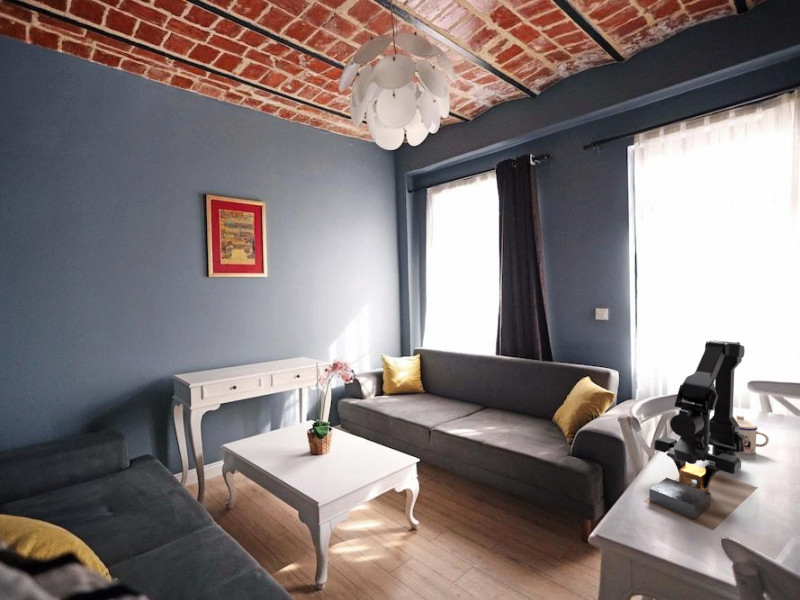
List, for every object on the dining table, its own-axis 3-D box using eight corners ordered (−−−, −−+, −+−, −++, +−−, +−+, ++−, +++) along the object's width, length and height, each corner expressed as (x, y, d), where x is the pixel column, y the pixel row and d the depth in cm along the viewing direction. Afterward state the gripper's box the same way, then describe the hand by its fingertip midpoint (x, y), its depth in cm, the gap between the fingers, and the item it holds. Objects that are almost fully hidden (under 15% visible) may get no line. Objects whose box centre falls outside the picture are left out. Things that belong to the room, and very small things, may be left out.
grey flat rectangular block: (684, 477, 119) (685, 465, 118) (727, 492, 110) (727, 479, 110) (649, 501, 106) (649, 488, 106) (694, 520, 98) (695, 506, 98)
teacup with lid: (720, 449, 141) (721, 415, 140) (724, 441, 147) (725, 409, 147) (766, 460, 132) (768, 424, 132) (769, 451, 139) (770, 417, 138)
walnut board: (694, 470, 125) (694, 466, 125) (757, 491, 113) (757, 487, 113) (643, 505, 106) (643, 501, 106) (712, 535, 94) (713, 530, 94)
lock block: (687, 480, 116) (688, 463, 116) (708, 488, 112) (709, 470, 112) (678, 487, 113) (679, 469, 112) (700, 494, 109) (700, 476, 108)
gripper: (645, 424, 114) (644, 478, 115) (727, 446, 99) (725, 509, 100) (663, 416, 121) (661, 468, 122) (743, 436, 106) (740, 495, 107)
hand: (694, 483), depth 112 cm, fingers closed on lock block, 5 cm apart
